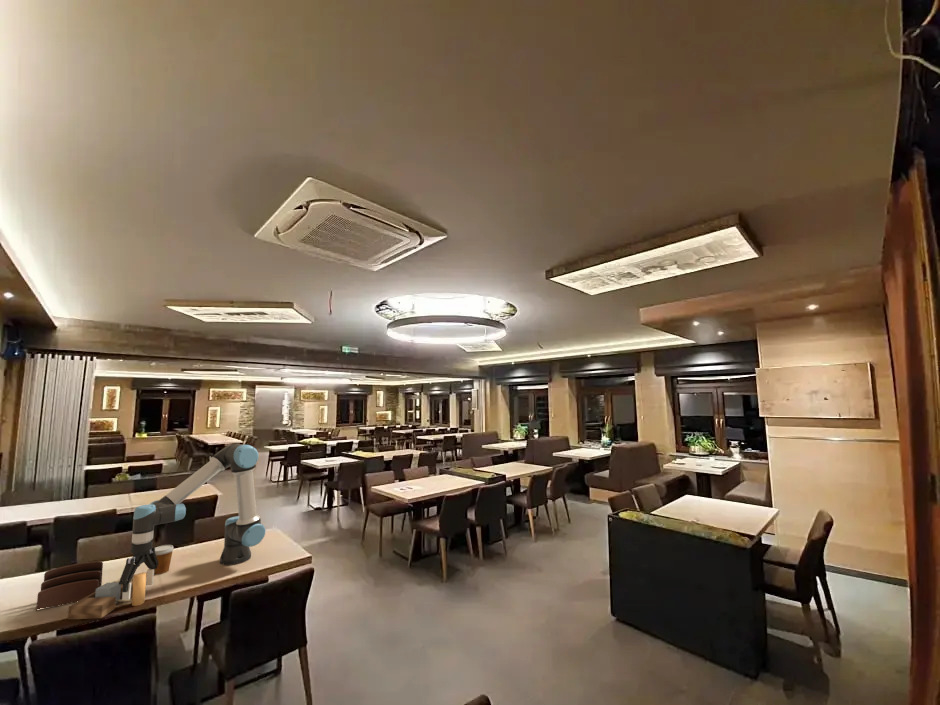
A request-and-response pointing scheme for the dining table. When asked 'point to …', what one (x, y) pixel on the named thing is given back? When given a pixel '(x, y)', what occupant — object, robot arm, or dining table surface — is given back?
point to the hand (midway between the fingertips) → (138, 591)
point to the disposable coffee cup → (163, 558)
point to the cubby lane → (94, 606)
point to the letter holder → (69, 584)
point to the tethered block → (115, 590)
